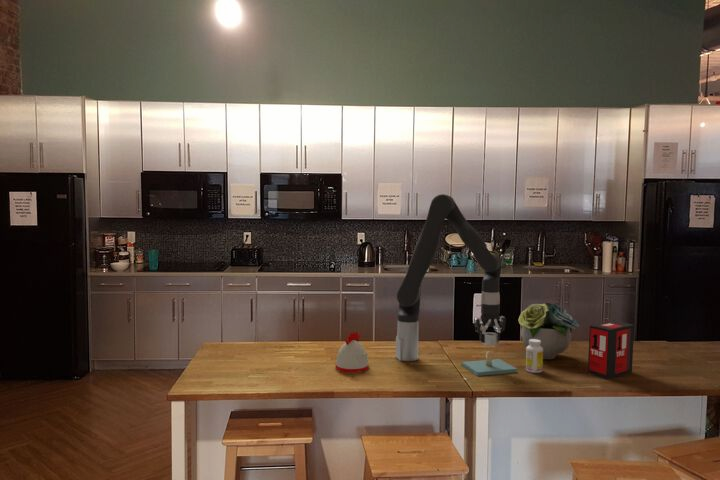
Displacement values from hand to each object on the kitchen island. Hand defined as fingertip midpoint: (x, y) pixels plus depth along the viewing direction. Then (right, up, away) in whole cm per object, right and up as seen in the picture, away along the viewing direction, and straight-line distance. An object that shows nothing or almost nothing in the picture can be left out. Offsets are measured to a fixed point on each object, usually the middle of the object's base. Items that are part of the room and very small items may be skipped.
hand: (489, 341), depth 224 cm
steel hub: (0, -1, 0) cm, 1 cm away
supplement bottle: (+18, -12, -1) cm, 22 cm away
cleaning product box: (+49, -12, -3) cm, 50 cm away
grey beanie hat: (-58, -11, +2) cm, 59 cm away
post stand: (0, -11, +1) cm, 11 cm away
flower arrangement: (+29, -10, +18) cm, 36 cm away
